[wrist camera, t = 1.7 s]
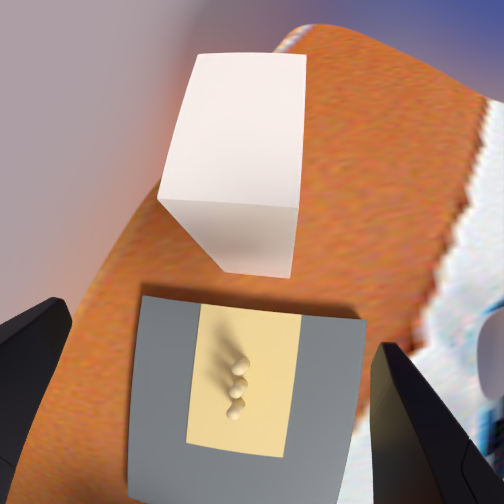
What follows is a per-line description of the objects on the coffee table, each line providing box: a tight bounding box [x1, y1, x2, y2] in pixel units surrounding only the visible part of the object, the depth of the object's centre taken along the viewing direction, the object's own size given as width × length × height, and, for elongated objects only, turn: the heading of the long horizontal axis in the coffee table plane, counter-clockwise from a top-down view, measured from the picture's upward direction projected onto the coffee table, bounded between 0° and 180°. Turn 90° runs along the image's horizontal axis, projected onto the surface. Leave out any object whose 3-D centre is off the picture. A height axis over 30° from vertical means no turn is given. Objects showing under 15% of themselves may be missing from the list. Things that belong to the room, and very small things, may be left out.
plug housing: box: [157, 53, 306, 279], centre depth 16 cm, size 6×4×12 cm, turn 173°
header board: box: [128, 295, 367, 504], centre depth 17 cm, size 15×14×4 cm
